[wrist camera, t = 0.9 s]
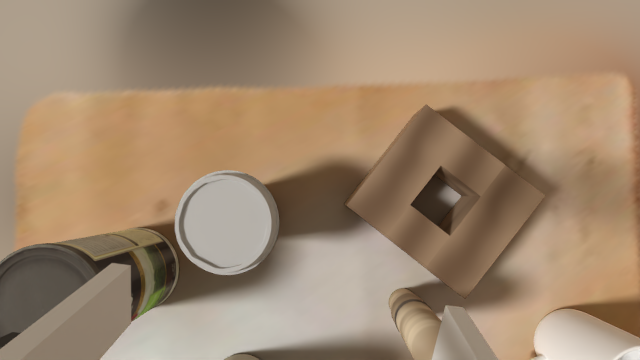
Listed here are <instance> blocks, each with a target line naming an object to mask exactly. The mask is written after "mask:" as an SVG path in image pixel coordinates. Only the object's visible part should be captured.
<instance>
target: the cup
mask: <svg viewBox="0 0 640 360" xmlns="http://www.w3.org/2000/svg"><path fill="white" fill-rule="evenodd" d="M534 348H535V352H536V355H537V357H534V358H532V359H530V360H640V338H639V337H637V336H635V335H632V334H630V333H628V332H626V331H624V330H622V329H620V328H617V327H615V326H613V325H611V324H609V323H607V322H604V321H602V320H600V319H598V318H596V317H594V316H592V315H589V314H587V313H585V312H582V311H579V310H575V309H560V310H556V311H553V312H551V313H549V314H548V315H546V316H545V317H544V318H543V319H542V320H541V321H540V322H539V324H538V326H537V328H536V330H535V334H534Z"/></svg>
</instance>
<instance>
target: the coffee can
mask: <svg viewBox="0 0 640 360" xmlns="http://www.w3.org/2000/svg"><path fill="white" fill-rule="evenodd" d="M111 263H116V264H124V265H131V322H132V321H134V320H135V319H137V318H138V317H140V316H141V315H143V314H144V313H146V312H147V311H149V310H150V309H152V308H154V307H156V306H158V305H159V304H161V303H162V302H163V301H164V300H166V299H167V298H168V297H169V295H170V294H171V293H172V291H173V289H174V288H175V285H176V283H177V280H178V275H179V262H178V257H177V254H176V252H175V249H174V248H173V246H172V244H171V243H170V242H169V241H168V240H167V239H166V238H165V237H164V236H163V235H161V234H160V233H158V232H156V231H154V230H151V229H147V228H131V229H127V230H124V231H118V232H113V233H107V234H102V235H96V236H91V237H85V238H79V239H74V240H68V241H62V242H57V243H47V244H36V245H31V246H27V247H24V248H21V249H19V250H17V251H15V252H13V253H12V254H10V255H8V256H7V257H6V258H4V259H3V260H2V261H1V262H0V338H1V337H3V336H5V335H7V334H9V333H11V332H17V333H22V332H23V331H24V330H26V329H27V328H28V327H30V326H31V325H32V324H34V323H35V322H36V321H37V320H39V319H40V318H41V317H43V316H44V315H45V314H46V313H48V312H49V311H50V310H52V309H53V308H54V307H56V306H57V305H58V304H59V303H61V302H62V301H63V300H65V299H66V298H67V297H69V296H70V295H71V294H72V293H74V292H75V291H76V290H78V289H79V288H80V287H82V286H83V285H84V284H85V283H87V282H88V281H89V280H91V279H92V278H93V277H95V276H96V275H97V274H98V273H100V272H101V271H102V270H104V269H105V268H106V267H108V266H109V265H110V264H111Z"/></svg>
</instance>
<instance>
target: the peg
mask: <svg viewBox="0 0 640 360" xmlns="http://www.w3.org/2000/svg"><path fill="white" fill-rule="evenodd" d="M389 307H390V309H391V314H392V318H393V320H394V322H395V324H396V327H397V329H398V331H399V332H400V333H401V335H402V337H403V339H404V341H405V343H406V345H407V347H408V349H409V351H410V352H411V354H412V356H413V358H414V360H432V356H433V353H434V349H435V345H436V341H437V337H438V333H439V329H440V325H441V320H440V319H439V318H438V317H437V316H436V314H435V313H434V312H433V311H432V310H431V308H430V307H429V306H428V305H427V304H426V303H425V302H424V301H423V300H422V299H421V298H420V297H419V296H417V295H414V294H413V293H412V292H411V291H410V290H408V289H397V290H395V291H394V292H393V293H392V294H391V296H390V298H389Z"/></svg>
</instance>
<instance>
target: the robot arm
mask: <svg viewBox="0 0 640 360" xmlns="http://www.w3.org/2000/svg"><path fill="white" fill-rule="evenodd" d="M130 324H131V265H124V264H116V263H111V264H110V265H109V266H108V267H106V268H105V269H104V270H102V271H101V272H100V273H98V274H97V275H96V276H95V277H93V278H92V279H91V280H89V281H88V282H87V283H85V284H84V285H83V286H82V287H80V288H79V289H78V290H76V291H75V292H74V293H72V294H71V295H70V296H69V297H67V298H66V299H65V300H63V301H62V302H61V303H59V304H58V305H57V306H56V307H54V308H53V309H52V310H50V311H49V312H48V313H46V314H45V315H44V316H43V317H41V318H40V319H39V320H37V321H36V322H35V323H34V324H32V325H31V326H30V327H28V328H27V329H26V330H24V331H23V332H22V333H17V332H11V333H9V334H7V335H5V336H3V337H1V338H0V360H100V358H101V357H102V356H103V355H104V354H105V353H106V351H107V350H108V349H109V348H110V347H111V346H112V345H113V343H114V342H115V341H116V340H117V339H118V338H119V336H120V335H121V334H122V333H123V332H124V331H125V330H126V328H127V327H128V326H129V325H130ZM432 360H498V358H497V357H496V355H495V354H494V352H493V351H492V349H491V348H490V346H489V345H488V343H487V342H486V340H485V339H484V337H483V336H482V334H481V333H480V331H479V330H478V328H477V327H476V325H475V324H474V322H473V321H472V319H471V318H470V316H469V315H468V313H467V312H466V310H465V309H464V307H457V306H449V305H445V309H444V313H443V317H442V321H441V325H440V329H439V333H438V337H437V341H436V345H435V349H434V353H433V356H432Z"/></svg>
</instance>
